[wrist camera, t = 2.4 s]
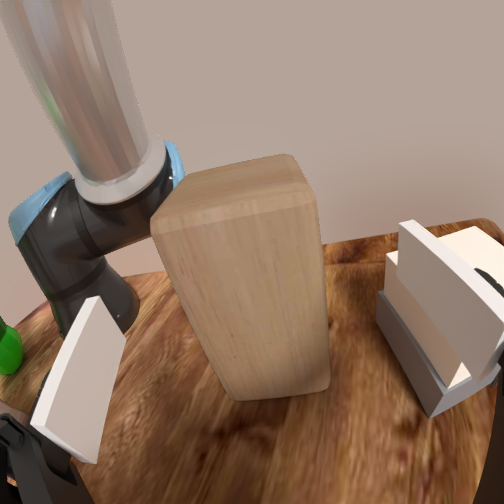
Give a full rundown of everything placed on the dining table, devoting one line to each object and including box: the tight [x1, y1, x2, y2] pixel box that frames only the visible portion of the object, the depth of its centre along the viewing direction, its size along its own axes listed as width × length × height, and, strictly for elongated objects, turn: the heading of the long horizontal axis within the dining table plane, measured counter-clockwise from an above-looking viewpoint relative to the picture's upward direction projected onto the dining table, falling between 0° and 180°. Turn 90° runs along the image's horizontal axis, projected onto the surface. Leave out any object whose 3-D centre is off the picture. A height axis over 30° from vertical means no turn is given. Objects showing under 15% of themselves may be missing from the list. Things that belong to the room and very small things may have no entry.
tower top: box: [384, 226, 504, 389], centre depth 21 cm, size 13×13×5 cm
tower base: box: [375, 289, 501, 419], centre depth 24 cm, size 14×14×5 cm
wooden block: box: [150, 154, 330, 401], centre depth 24 cm, size 10×10×20 cm
